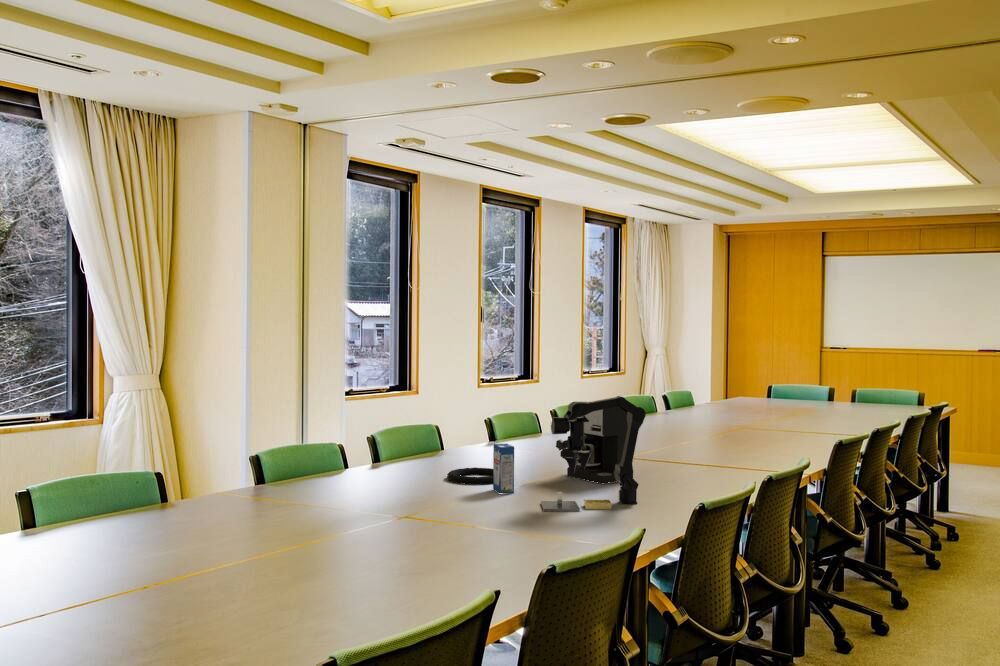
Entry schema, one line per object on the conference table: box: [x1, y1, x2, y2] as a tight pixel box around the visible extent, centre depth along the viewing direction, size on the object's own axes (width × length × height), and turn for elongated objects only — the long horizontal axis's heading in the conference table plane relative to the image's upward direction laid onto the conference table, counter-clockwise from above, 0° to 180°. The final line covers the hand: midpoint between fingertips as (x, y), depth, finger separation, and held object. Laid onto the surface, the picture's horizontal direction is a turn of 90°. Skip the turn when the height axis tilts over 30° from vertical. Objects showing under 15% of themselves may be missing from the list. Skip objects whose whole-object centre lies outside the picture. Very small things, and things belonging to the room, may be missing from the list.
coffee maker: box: [566, 403, 628, 484], centre depth 406 cm, size 28×20×35 cm
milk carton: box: [492, 443, 515, 494], centre depth 371 cm, size 10×6×20 cm, turn 18°
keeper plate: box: [540, 491, 581, 512], centre depth 341 cm, size 14×14×6 cm
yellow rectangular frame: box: [583, 499, 612, 510], centre depth 342 cm, size 10×6×2 cm, turn 92°
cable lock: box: [446, 467, 493, 485], centre depth 399 cm, size 28×4×30 cm
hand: (577, 471), depth 347 cm, fingers open, 9 cm apart
